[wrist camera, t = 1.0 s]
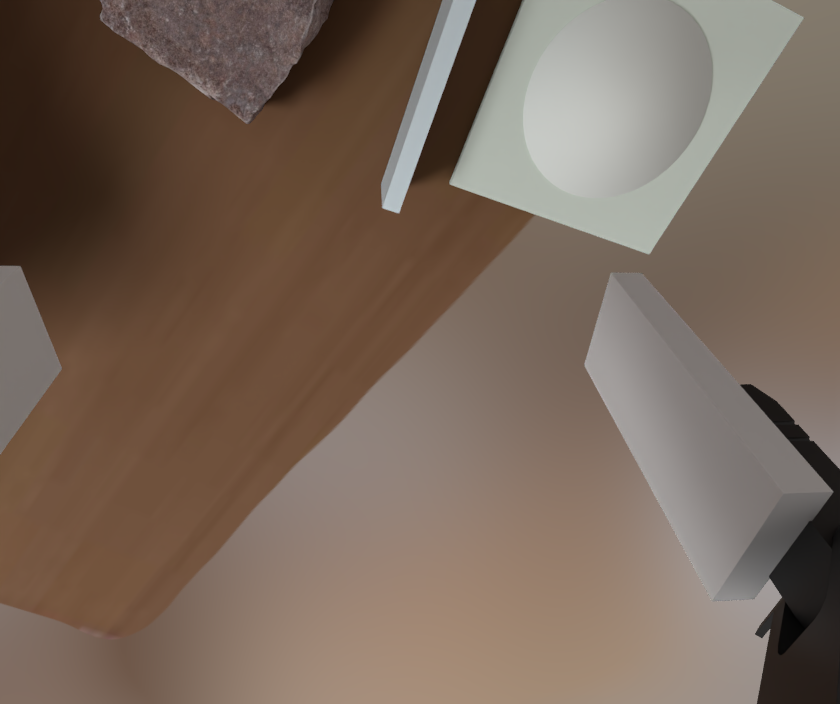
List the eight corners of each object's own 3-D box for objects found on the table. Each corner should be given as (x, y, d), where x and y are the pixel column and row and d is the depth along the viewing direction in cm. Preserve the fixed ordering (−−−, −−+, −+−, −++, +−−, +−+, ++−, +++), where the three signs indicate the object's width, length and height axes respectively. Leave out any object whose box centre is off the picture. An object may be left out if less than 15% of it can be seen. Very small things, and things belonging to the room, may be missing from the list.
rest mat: (449, 182, 35) (450, 185, 34) (565, -108, 27) (568, -109, 26) (646, 251, 39) (649, 255, 38) (799, 16, 31) (805, 17, 30)
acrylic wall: (381, 184, 34) (382, 207, 31) (486, -134, 26) (503, -147, 23) (396, 189, 35) (398, 213, 31) (506, -124, 26) (525, -136, 23)
